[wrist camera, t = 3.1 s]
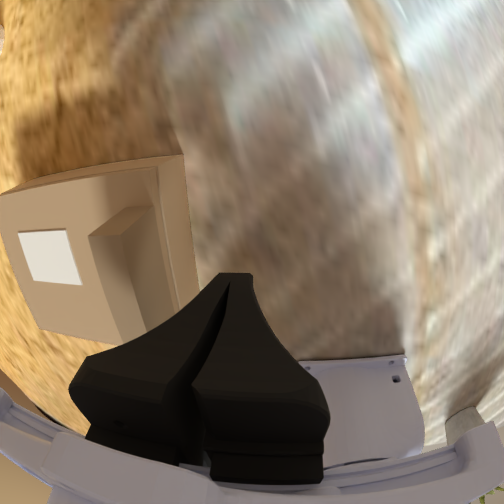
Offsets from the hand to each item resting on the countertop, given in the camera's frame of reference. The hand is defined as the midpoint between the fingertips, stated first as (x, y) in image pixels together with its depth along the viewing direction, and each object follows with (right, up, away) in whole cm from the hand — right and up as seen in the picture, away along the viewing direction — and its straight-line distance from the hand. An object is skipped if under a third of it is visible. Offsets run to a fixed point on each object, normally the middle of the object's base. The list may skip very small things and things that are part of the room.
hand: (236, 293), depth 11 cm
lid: (-9, +1, +2) cm, 9 cm away
